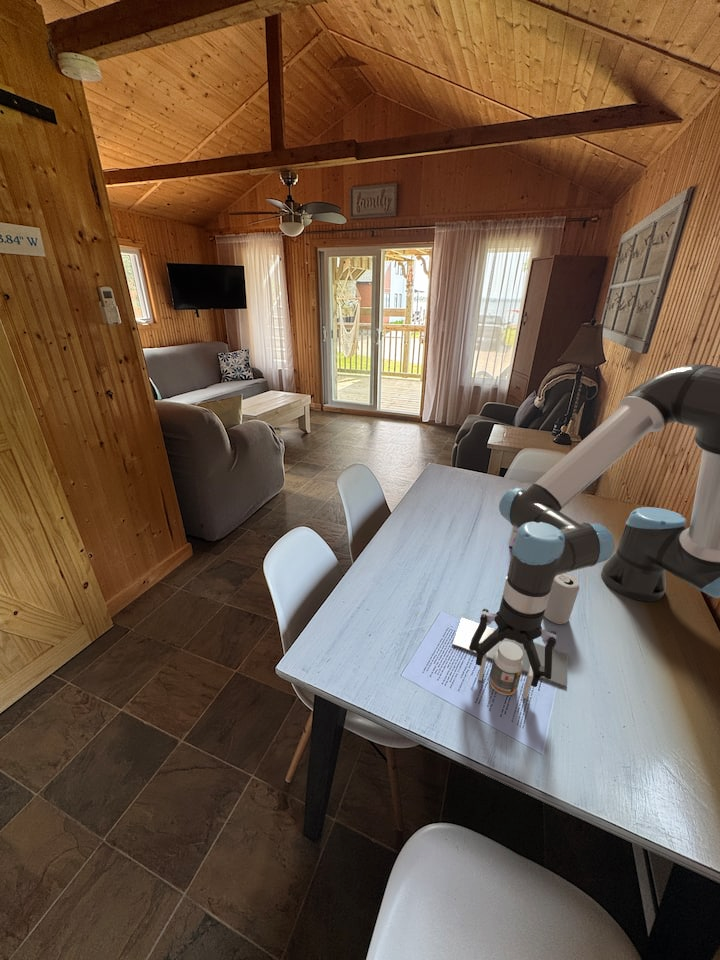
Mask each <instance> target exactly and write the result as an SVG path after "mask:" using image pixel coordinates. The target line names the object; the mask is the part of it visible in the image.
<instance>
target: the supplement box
mask: <svg viewBox="0 0 720 960" xmlns="http://www.w3.org/2000/svg"><path fill="white" fill-rule="evenodd" d="M511 526H512V527H511V531H510V535H509V543H508V547H509V548H512V547H513V542H514V541H515V538H516V535H517V532H518V528H516V527H514V526H513V525H511Z"/></svg>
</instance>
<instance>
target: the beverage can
mask: <svg viewBox="0 0 720 960" xmlns="http://www.w3.org/2000/svg"><path fill="white" fill-rule="evenodd" d="M579 584H580V582H579V580H578V579H577V577H575V576H574V575H573V574H570V573H569V572H567V573H564V574H560V575H557V576H556V577H555V578H554V581H553V584H552V587H551V591H550V595H549V599H548V602H547V606H546V608H545V612H544V616H543V617H545V618H546V620H548V621H550V622H551V623H554V624H557V625H558V624H559V625H562V624H563V625H564V624H567V623H568V622H569V621H570V618H571V615H572V612H573V610H574V605H575V603H576V600H577V596H578V594H579V590H580V585H579Z"/></svg>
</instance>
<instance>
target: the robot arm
mask: <svg viewBox="0 0 720 960" xmlns="http://www.w3.org/2000/svg"><path fill="white" fill-rule="evenodd" d="M673 423H679V424H681V425H685V426H688V427H692V428H694V429H695V435H694V436H695V437H694V444H695V445H696V446H697V447H698V448H699V449H700V450H701V451H702V455H701V459H700V466H699V471H698V477H697V483H696V484H697V485H696V488H695V495H694V500H693V501H694V502H693V505H692V512H691V518H690V524H689V527H687V519H686V517H684V516H683V515H682V514H680V513H678V512H676V511H672V510H669V509H665V508H661V507H651V506H650V507H649V506H644V507H643V506H642V507H637V508H635V509H633V510H632V511H631V512H630V514H629V516H628V517H627V520H626V521H625V526H624V528H623V532H622V534H621V538H620V539H619V540H620V541H619V543H618V546H617V549H616V551H615V544H616V543H615V539H614V537H613V534H612V533H611V531H610V530H609V529H608V528H607V527H606V526H604V525H603V524H601V523H598V522H594V521H593V522H582V523H579V522H578V521H576V520H574V519H573V518H571V517H570V516H567V514H566V515H565V514H564V513H562V512H561V510H563V509H564V508H565V507H566V506H567V505H568V504H569V503H571V501H573V500H574V499H575V498H576V497H578V496H579V495H580V494H581V493H582V492H583V491H584V490H585V489H587V488H588V487H589V486H591V484H592V483H593V482H594V481H596V480H597V479H598V478H599V477H600V476H601V475H602V474H603V473H605V472H606V471H607V470H608V469H609V468H610V467H611V466H613V465H614V464H615V463H616V462H617V461H619V460H620V459H621V458H622V457H623V456H624V455H625V454H626V453H628V452H629V451H630V450H631V449H632V448H634V446H635V445H637V444H638V443H639V442H640V441H642V439H644V438H645V437H646V436H647V435H648V434H649V433H656V432H659V431H661V430H662V428H664V427H665V426H666V425H668V424H673ZM498 504H499V505H498V510H499V513H500V515H501V516H502V517H503V518H504V519H505V520H507V521H508V522H509V524H510V525H511V526H514V527H516V528H518V532H517V535H516V538H515V541H514V542H513V547H511V549H512V550H511V555H510V561H509V564H508V565H509V566H508V570H507V574H506V577H505V582H504V586H503V592H502V597H501V600H500V605H499V610H498V611H497V612H496V613H492V612H490V611H489V610H488V609H487V608H483V609H482V611H481V614H480V618H479V623H478V624H479V625H478V627H477V629H476V631H475V633H474V635H473V637H472V640H471V643H470V646H469V649H470V650H471V651H476V652H477V655H476V660H475V665H476V666H479V667H480V668H479V671H478V672H479V673H478V676H477V677H478V678H477V680H478V681H481V682H482V681H483V676H484V673H485V668H486V663H487V660H488V659H487V655H488V651H489V650H490V649H492V648H493V647H494V646H495V645H496V644H497V643H499V642H500V641H503V640H504V639H505V638H507V639H509V640H514V641H516V642H518V643H521V644H522V643H523V646H524V649H525V650H526V652H527V656H528V659H529V662H530V668H529V672H528V674H527V675H526V679H525V683H524V685H523V686H524V687H523V693H522V698H523V699H525V700H527V699H528V696H529V692H530V690H531V687H533V688H536V687H537V686H538V684H539V681H541V679H540V677H541V676H544V677H545V678H547V679H551V674H552V649H554V648H555V646H556V644H557V632H556V631H555V630H550V631H547V630H545V629H543V627H542V622H543V619H544V617H545V616H544V612H545V608H546V606H547V602H548V599H549V595H550V591H551V587H552V584H553V581H554V578H555V577H556V576H557V575H560V574H564V573H571V572H574V571H578V570H581V569H584V568H588V567H594V566H596V565H598V564H600V563H602V562H603V563H604V562H605V561H606V562H605V563H604V564H603V567H602V569H601V572H600V573H601V574H600V575H601V578H602V580H603V582H604V583H605V584H606V585H607V586H608V587H610V589H612V590H613V591H615V592H617V593H618V594H620V595H623V596H624V597H627V598H630V599H632V600H638V601H641V602H656V601H659V600H660V599H662V598H663V597H664V595H665V592H666V589H667V582H666V581H667V580H666V579H667V576H666V573H667V572H668V573H670V574H672V575H674V576H675V577H677V578H679V579H680V580H681V581H684V582H685V583H687V584H688V585H690V586H692V587H693V588H695V589H696V590H698V591H699V592H702V593H704V594H706V595H708V596H710V597H712V598H713V599H714V598H715V599H720V366H714V365H711V364H706V363H705V364H704V363H702V364H701V363H700V364H698V363H696V364H694V363H693V364H687V365H683V366H678V367H675V368H671V369H669V370H666V371H663V372H661V373H659V374H657V375H654V376H653V377H651V378H649V379H647V380H646V381H644V382H642V383H641V384H638V385H637V386H636V387H635V388H633V389H631V390H630V391H629V392H628V393H627V394H626V395H625V396H624V397H622V398H621V399H620V400H619V402H618V408H617V410H615V411H614V412H613V413H611V415H609V416H608V417H607V418H606V419H605V420H604V421H603V422H602V423H601V424H599V426H597V427H596V428H595V429H594V430H593V431H591V433H589V434H588V435H587V436H586V437H585V438H584V439H583V440H581V441H580V442H579V443H578V444H577V445H576V446H575V447H574V448H572V450H570V451H569V452H568V453H567V454H566V455H564V456H563V458H561V459H560V460H559V461H558V462H557V463H556V464H554V465H553V466H552V467H551V468H550V469H549V470H548V471H546V472H545V473H544V474H543V475H542V476H541V477H540V478H539V479H537V481H535V482H534V483H533V484H532V485H531V486H529V487H528V488H527V489H525V488H521V487H514V488H513V489H509V490H507V491H506V492H505V493H504V494H503V495H502V497H501V499H500V501H499V503H498ZM614 552H615V553H614ZM613 553H614V554H613ZM666 571H667V572H666ZM492 622H494V623H495V624H496V626H497V628H495V629H496V630H495V631H494V632H493V633H492V634H491V635H489V636H488V637H487V638H486V639H485V640H484V641H483V642H482V643H481V642H480V643H479V641H480V639H481V637H482V635H483V633H484V632H485V630H486V627H488V626H489V625H491V624H492ZM538 638H541V639H542V643H543V645H544V646H545V666H541V664H540V661H539V657H538V654H537V651H536V648H535V645H534V643H535V642H534V640H535V639H536V640H537V639H538Z"/></svg>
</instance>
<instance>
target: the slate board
mask: <svg viewBox="0 0 720 960" xmlns="http://www.w3.org/2000/svg"><path fill="white" fill-rule="evenodd" d="M478 625H479V623H478V622H476V621H472V620H469V619H466V618H464V617H461V619H460V623H459V626H458V628H457V631H456V634H455V636H454V639H453V642H452V644H451V646H452V647H455V648H458V649H461V650H463V651H466V652H468V653H471V654H474V655H476V656H477V652H476V651H471V650H470V649H469V646H470V643H471V640H472V637H473V635H474V633H475V631H476V629H477V627H478ZM496 629H497V628H493V627H490V626H487V627H486V630H485V632H484V633H483V635H482V637H481V639H480V641H479V643H480V642H481V643H482V642H483V641H484V640H485V639H486V638H487V637H488V636H489V635H491V634H492V633H493V632H494V631H495V630H496ZM505 641H508V642H512V643H515V644H516V645H518V646H519V647H520V648H521V649H522V651H523V658H522V661H523V669H522V673H525V674H527V675H528V672H529V668H530V662H529V659H528V656H527V652H526V650H525V649H524V646H523V643H522V644H521V643H518V642H516V641H514V640H509V639H507V638H505V639H504V640H503V641H500V642H499V643H497V644H496V645H495V646H494V647H493V648H492V649H490V650H489V651H488V655H487V660H490V661H492V662H493V657H494V654H495V653H496V652H497V651H498V647H499V645H500V644H501V643H502V642H505ZM534 645H535V648H536V651H537V654H538V657H539V661H540V664H541V666H545V645H544V644H543V645H542V644H539V643H537V642H534ZM540 680H543V681H545V682H547V683H548V682H549V683H551V684H554V685H557V686H559V687H561V688H565V689H567V686H568V653H566V652H563V651H560V650H557V649H554V648H553V649H552V674H551V679H547V678H545V677H544V676H541V677H540Z"/></svg>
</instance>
